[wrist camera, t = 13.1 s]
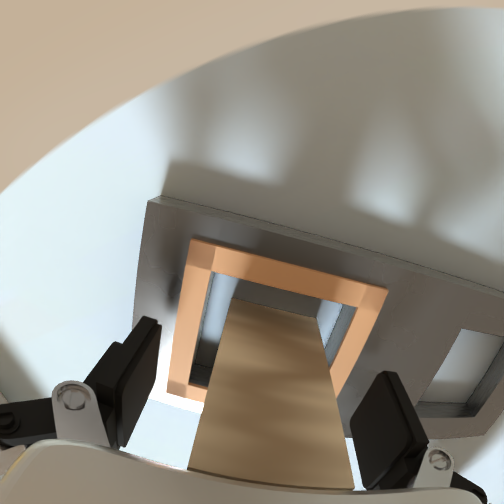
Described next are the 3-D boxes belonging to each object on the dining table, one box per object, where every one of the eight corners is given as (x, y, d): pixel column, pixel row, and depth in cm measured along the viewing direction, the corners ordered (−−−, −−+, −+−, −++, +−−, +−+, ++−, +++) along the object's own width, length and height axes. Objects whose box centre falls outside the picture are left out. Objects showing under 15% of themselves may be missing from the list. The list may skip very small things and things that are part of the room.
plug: (316, 318, 14) (354, 488, 6) (290, 382, 15) (297, 539, 7) (231, 297, 14) (187, 466, 6) (214, 364, 15) (174, 522, 7)
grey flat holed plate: (545, 307, 13) (560, 318, 12) (476, 422, 16) (484, 436, 15) (160, 195, 13) (145, 201, 11) (138, 374, 16) (128, 393, 14)
